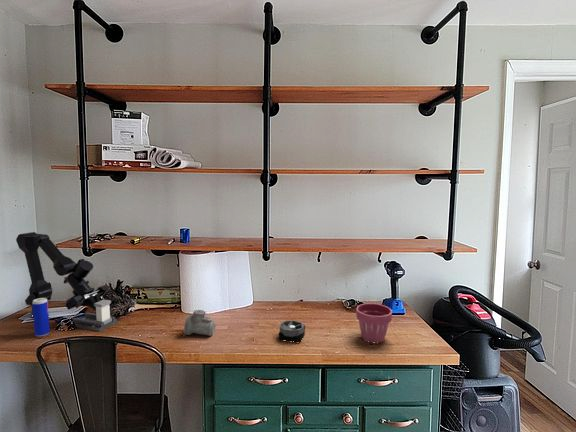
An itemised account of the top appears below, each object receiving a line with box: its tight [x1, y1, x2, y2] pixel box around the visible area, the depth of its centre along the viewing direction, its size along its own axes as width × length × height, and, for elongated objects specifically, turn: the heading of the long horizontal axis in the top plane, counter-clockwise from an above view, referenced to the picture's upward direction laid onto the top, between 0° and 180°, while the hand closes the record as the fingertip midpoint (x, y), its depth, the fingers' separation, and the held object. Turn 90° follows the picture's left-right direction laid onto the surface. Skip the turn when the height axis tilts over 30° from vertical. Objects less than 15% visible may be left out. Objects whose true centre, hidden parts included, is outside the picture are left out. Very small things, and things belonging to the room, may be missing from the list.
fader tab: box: [94, 299, 112, 325], centre depth 153 cm, size 5×5×9 cm
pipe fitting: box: [183, 309, 216, 337], centre depth 147 cm, size 12×8×10 cm
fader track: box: [72, 312, 118, 333], centre depth 155 cm, size 16×10×3 cm, turn 73°
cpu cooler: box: [278, 319, 306, 342], centre depth 145 cm, size 10×6×10 cm
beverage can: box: [32, 298, 51, 338], centre depth 144 cm, size 5×5×15 cm
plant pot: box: [355, 302, 393, 344], centre depth 144 cm, size 14×14×13 cm
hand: (99, 311), depth 154 cm, fingers closed, pressing on fader tab
